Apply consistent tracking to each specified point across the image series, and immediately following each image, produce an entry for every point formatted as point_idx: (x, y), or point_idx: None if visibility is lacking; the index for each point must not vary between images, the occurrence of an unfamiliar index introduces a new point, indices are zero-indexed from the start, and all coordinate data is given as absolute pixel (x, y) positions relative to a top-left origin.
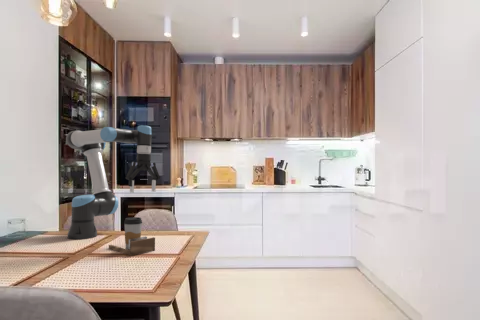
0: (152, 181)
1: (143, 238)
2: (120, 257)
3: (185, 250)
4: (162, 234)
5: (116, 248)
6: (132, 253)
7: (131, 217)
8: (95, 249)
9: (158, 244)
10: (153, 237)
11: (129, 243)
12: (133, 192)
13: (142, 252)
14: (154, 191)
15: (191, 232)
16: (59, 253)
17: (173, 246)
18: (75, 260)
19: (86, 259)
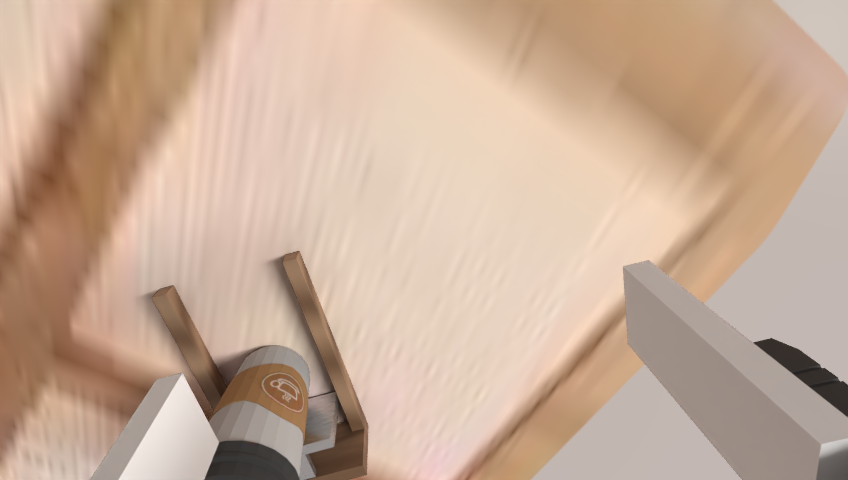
0: (777, 429)
1: (304, 476)
2: None
3: (482, 475)
4: (582, 65)
5: (191, 362)
6: None
7: (224, 477)
8: (85, 276)
9: (429, 329)
10: (362, 465)
11: None
12: (213, 444)
13: None
14: (631, 344)
15: (776, 115)
16: None
17: (474, 398)
18: (4, 427)
19: (53, 432)
